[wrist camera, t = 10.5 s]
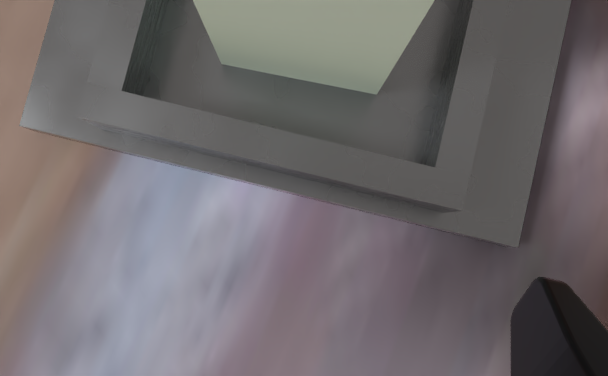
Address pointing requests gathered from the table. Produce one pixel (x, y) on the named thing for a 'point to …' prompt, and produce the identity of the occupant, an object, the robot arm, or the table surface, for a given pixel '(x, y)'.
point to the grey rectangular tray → (318, 109)
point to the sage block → (314, 37)
